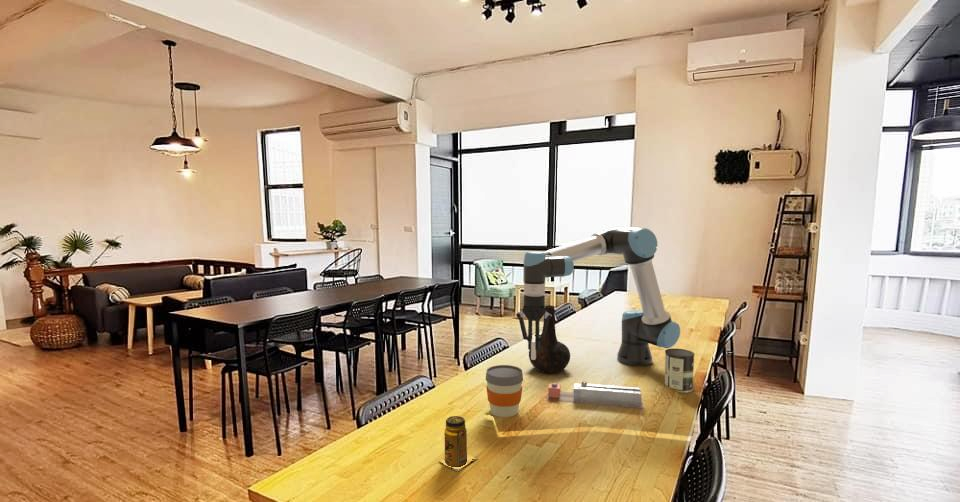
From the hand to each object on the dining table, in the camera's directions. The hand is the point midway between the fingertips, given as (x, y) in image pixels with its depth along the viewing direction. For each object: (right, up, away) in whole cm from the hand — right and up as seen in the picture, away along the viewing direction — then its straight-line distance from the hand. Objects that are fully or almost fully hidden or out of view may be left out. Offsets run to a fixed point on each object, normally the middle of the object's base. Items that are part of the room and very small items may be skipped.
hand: (533, 358), depth 164 cm
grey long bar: (+25, -14, -6) cm, 29 cm away
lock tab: (+8, -14, -1) cm, 16 cm away
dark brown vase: (+11, -12, +31) cm, 35 cm away
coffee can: (+57, -14, +10) cm, 60 cm away
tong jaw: (+27, -14, -5) cm, 30 cm away
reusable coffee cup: (-11, -16, -12) cm, 23 cm away
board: (+21, -15, -3) cm, 26 cm away
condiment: (-25, -19, -41) cm, 51 cm away
